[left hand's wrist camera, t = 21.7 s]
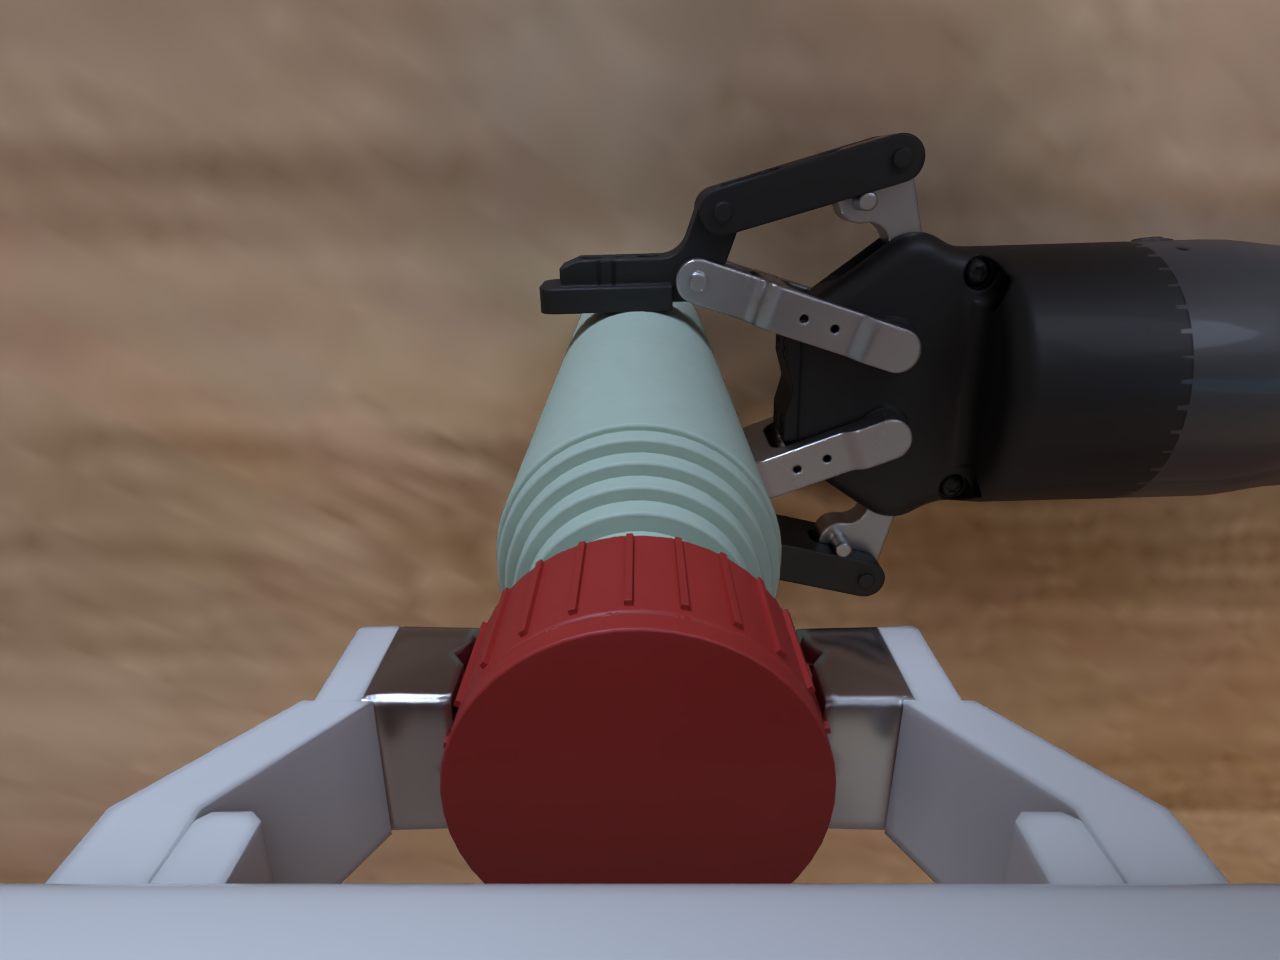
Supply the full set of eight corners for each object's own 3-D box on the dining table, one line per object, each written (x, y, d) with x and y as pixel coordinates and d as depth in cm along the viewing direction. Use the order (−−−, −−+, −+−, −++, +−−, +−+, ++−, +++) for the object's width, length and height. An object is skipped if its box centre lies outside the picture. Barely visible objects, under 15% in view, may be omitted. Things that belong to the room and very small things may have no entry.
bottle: (576, 274, 29) (409, 554, 8) (707, 279, 29) (882, 571, 8) (575, 400, 31) (435, 904, 10) (698, 405, 31) (824, 914, 10)
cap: (854, 580, 10) (909, 685, 8) (739, 835, 11) (759, 978, 9) (518, 487, 9) (485, 575, 7) (444, 765, 11) (400, 901, 9)
